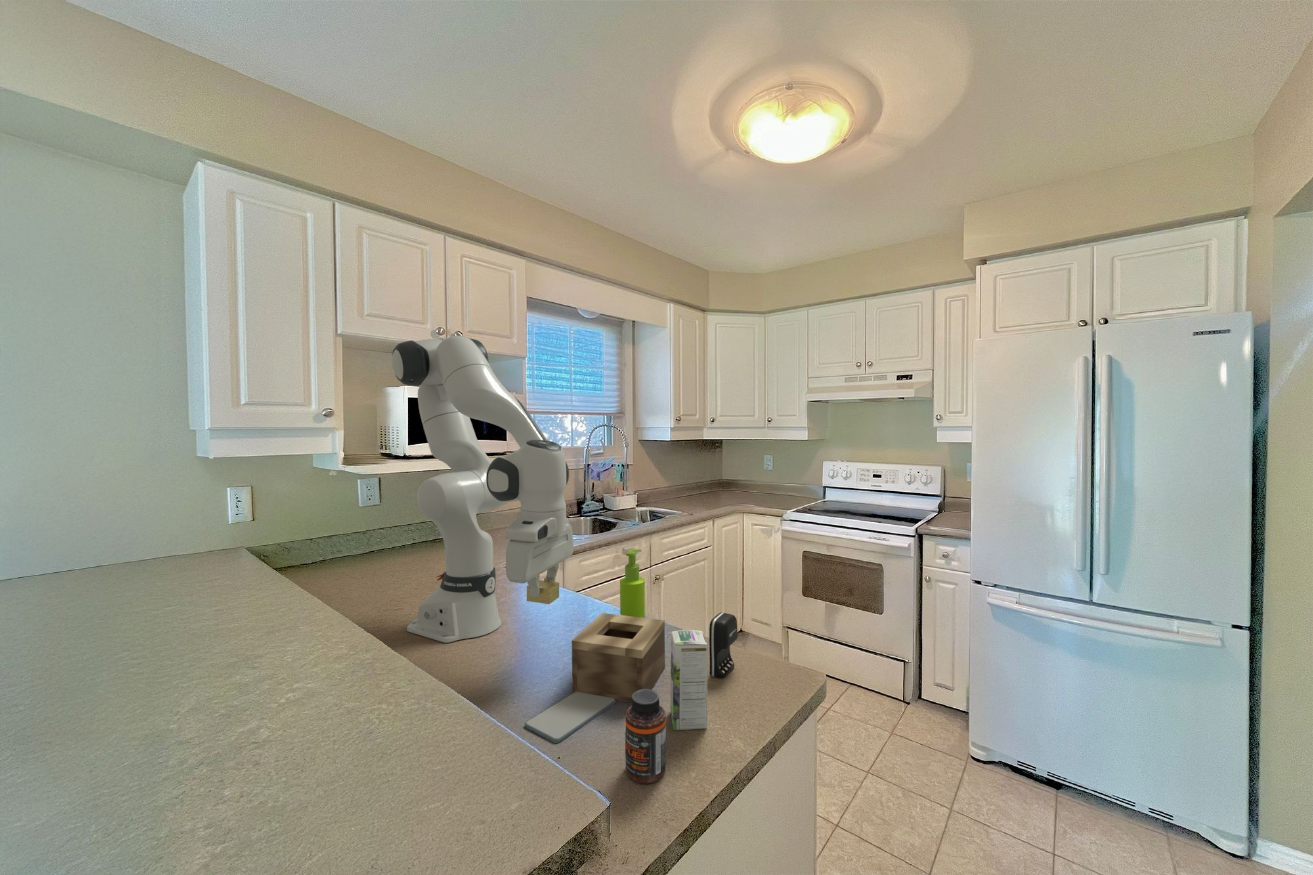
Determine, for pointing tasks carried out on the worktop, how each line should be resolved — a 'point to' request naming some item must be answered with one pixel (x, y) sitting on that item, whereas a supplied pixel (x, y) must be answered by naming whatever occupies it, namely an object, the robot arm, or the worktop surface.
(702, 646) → the syrup box
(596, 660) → the box
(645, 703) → the supplement bottle
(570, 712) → the smartphone
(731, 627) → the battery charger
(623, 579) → the soap dispenser
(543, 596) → the pale yellow block
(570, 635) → the worktop surface
